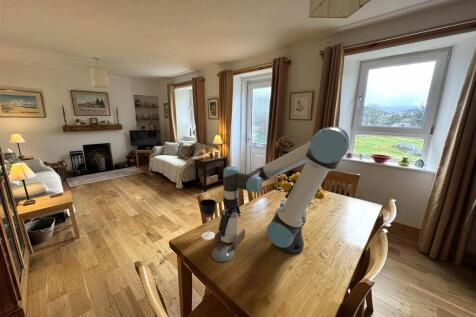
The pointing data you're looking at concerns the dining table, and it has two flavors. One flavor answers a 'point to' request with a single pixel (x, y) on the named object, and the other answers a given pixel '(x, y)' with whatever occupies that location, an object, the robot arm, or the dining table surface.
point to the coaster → (222, 253)
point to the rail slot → (236, 241)
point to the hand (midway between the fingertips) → (230, 233)
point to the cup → (232, 227)
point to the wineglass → (208, 215)
